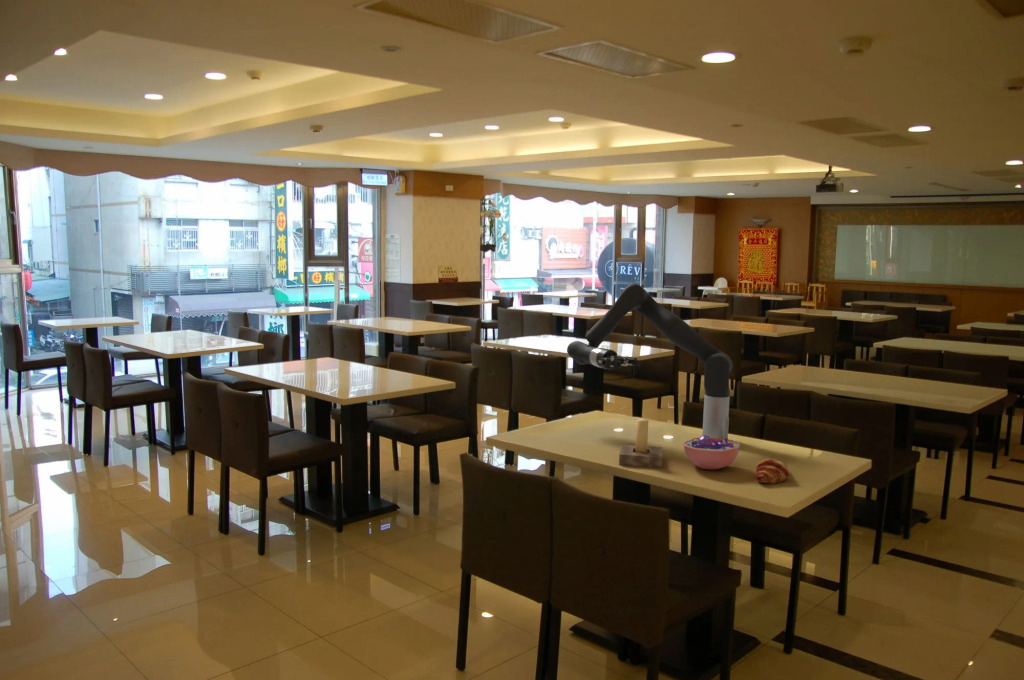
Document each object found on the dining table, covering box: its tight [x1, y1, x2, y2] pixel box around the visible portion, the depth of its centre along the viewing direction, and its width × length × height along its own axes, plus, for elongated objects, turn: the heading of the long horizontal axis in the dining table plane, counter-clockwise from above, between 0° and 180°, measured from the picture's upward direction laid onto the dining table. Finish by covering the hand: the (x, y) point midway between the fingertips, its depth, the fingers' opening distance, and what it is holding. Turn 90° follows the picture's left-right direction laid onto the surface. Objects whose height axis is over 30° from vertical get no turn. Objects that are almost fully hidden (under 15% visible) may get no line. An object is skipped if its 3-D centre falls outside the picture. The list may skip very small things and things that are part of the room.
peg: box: [634, 418, 649, 453], centre depth 259 cm, size 4×4×14 cm
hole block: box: [618, 444, 663, 469], centre depth 259 cm, size 14×14×4 cm
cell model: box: [682, 435, 741, 471], centre depth 253 cm, size 17×20×11 cm
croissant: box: [755, 458, 790, 484], centre depth 243 cm, size 21×10×8 cm, turn 141°
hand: (629, 364), depth 278 cm, fingers open, 8 cm apart
